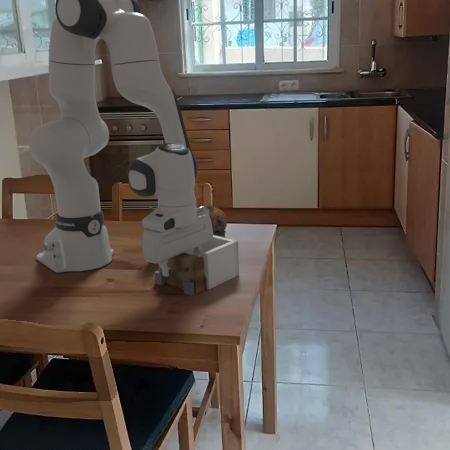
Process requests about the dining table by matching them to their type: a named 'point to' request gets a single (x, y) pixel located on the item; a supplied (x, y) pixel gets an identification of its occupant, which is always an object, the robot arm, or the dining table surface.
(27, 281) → the dining table surface
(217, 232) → the chess piece
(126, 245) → the dining table surface
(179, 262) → the door
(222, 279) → the cabinet
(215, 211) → the onion
